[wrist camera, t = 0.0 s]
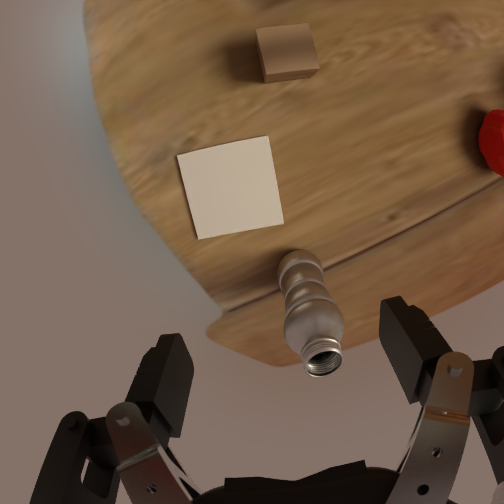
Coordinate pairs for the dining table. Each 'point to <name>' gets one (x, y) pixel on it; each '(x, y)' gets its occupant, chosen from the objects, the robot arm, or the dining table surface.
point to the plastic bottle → (310, 314)
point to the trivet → (231, 187)
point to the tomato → (493, 140)
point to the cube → (286, 53)
